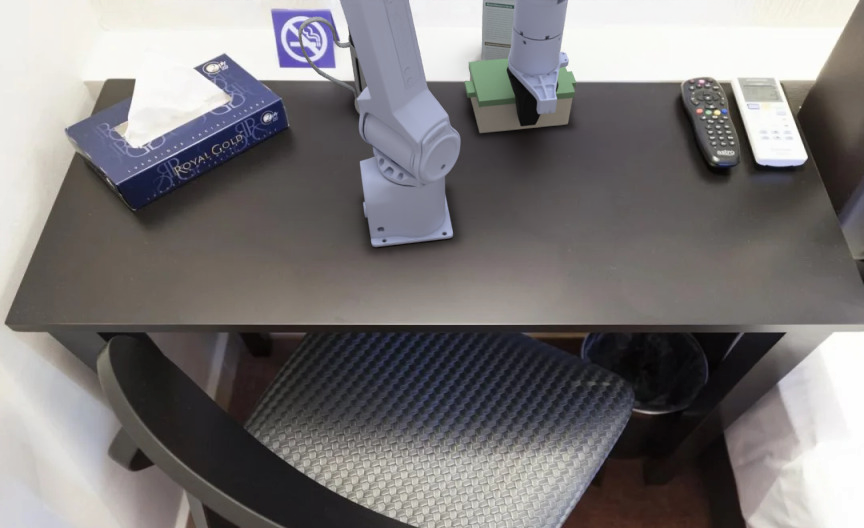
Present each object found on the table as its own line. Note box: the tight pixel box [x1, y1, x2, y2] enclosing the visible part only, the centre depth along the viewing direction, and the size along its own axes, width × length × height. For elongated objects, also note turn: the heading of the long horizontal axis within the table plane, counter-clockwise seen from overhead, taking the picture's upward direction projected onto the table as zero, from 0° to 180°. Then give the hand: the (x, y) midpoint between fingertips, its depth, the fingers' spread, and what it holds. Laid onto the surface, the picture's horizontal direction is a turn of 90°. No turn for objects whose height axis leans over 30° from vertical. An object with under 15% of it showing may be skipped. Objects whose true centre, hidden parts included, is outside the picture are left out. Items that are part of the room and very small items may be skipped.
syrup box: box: [481, 0, 515, 61], centre depth 89 cm, size 6×6×14 cm
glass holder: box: [297, 16, 367, 115], centre depth 84 cm, size 9×14×15 cm, turn 108°
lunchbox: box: [464, 58, 577, 134], centre depth 88 cm, size 14×5×8 cm
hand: (527, 122), depth 85 cm, fingers closed
